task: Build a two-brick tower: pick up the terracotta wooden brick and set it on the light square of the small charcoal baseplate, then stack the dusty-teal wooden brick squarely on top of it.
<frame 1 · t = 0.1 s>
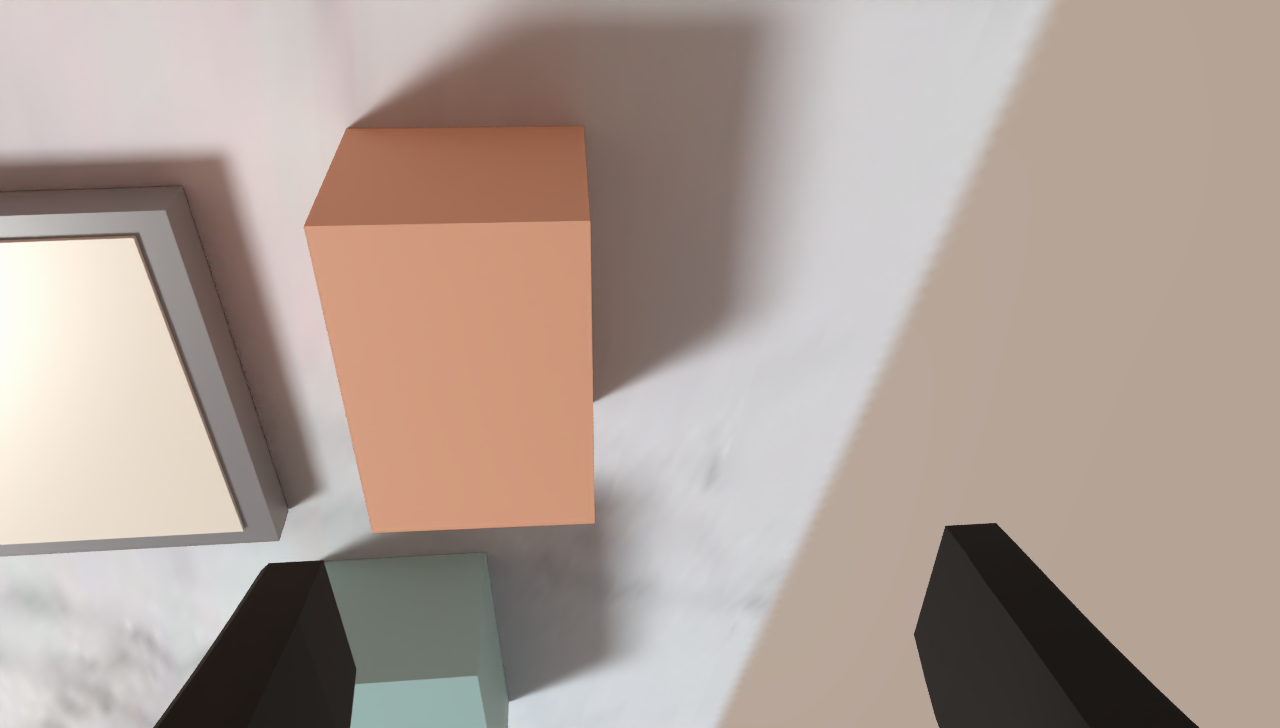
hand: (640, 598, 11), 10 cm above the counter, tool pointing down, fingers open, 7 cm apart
teal brick: (420, 632, 27), on the counter
terracotta brick: (481, 278, 20), on the counter
baseplate: (80, 377, 21), on the counter
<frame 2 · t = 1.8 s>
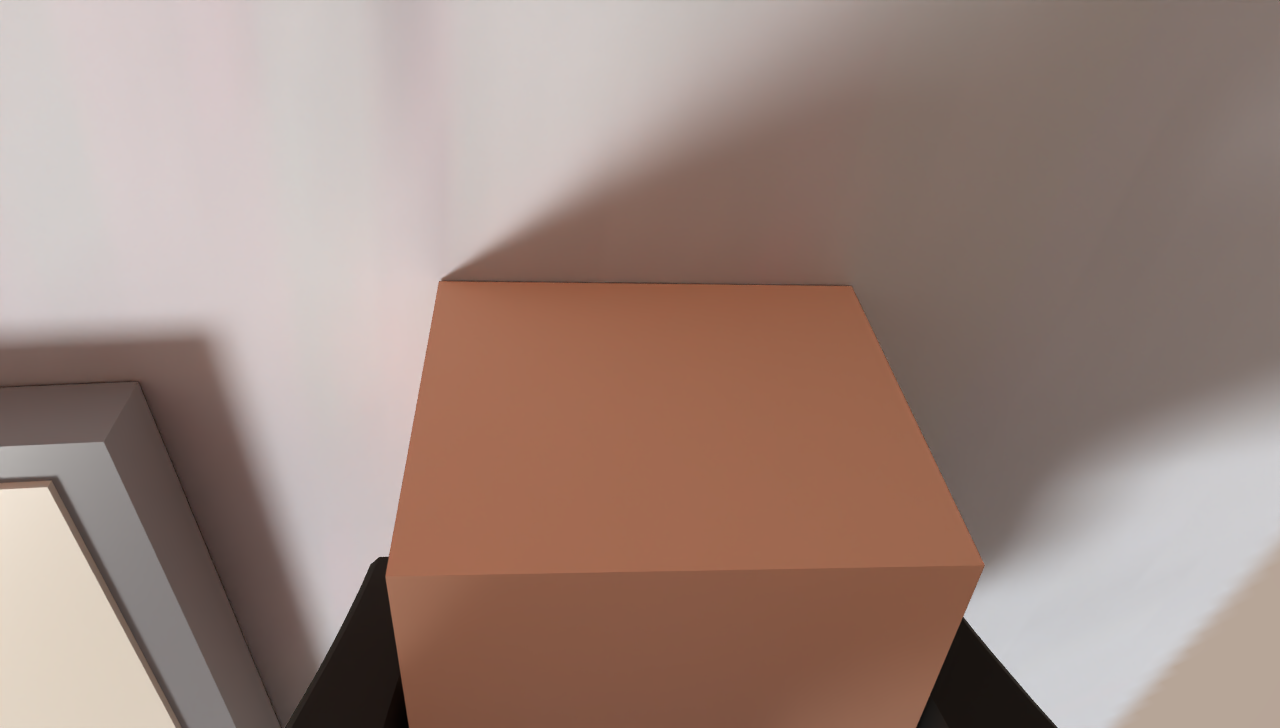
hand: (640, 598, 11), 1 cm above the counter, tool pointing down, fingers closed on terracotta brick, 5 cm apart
terracotta brick: (631, 510, 12), on the counter, touching gripper
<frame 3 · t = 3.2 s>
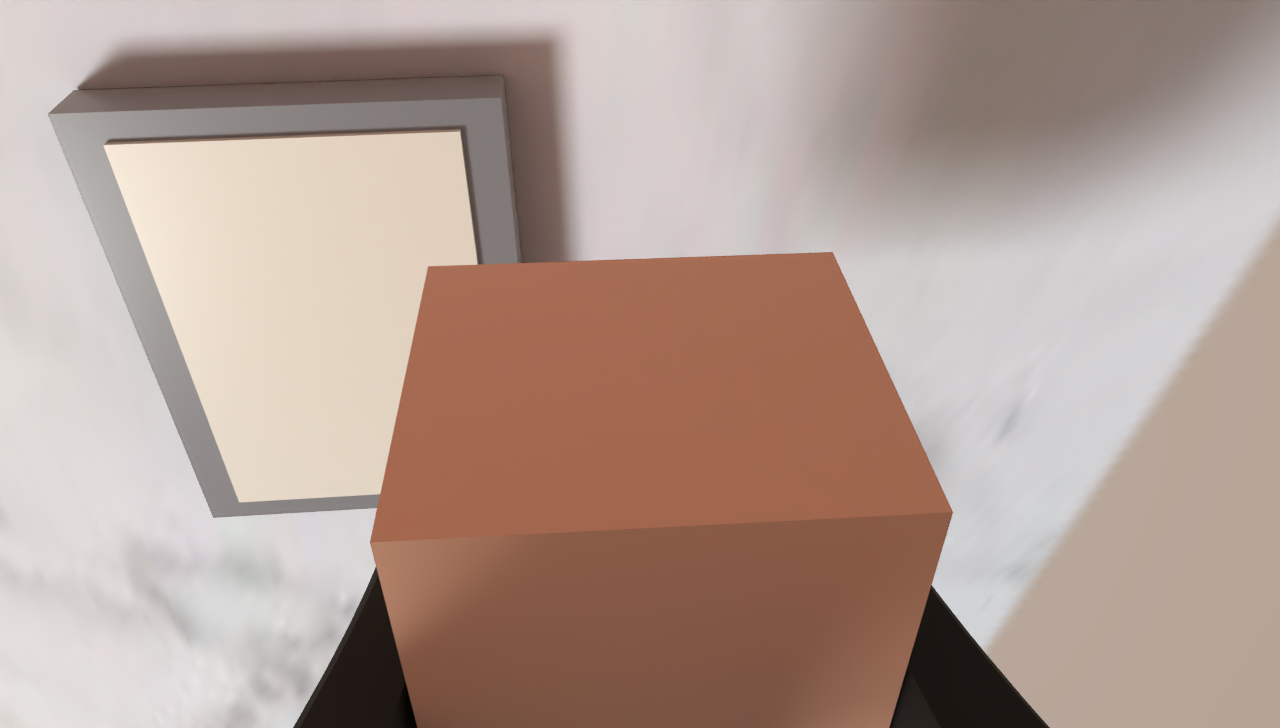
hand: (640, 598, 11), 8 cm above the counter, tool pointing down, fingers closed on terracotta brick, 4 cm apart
terracotta brick: (633, 485, 12), point 7 cm above the counter, touching gripper
baseplate: (345, 308, 18), on the counter
when the fingers open (3 cm above the counter, at t = 4.9 s): terracotta brick stays where it is, resting on baseplate.
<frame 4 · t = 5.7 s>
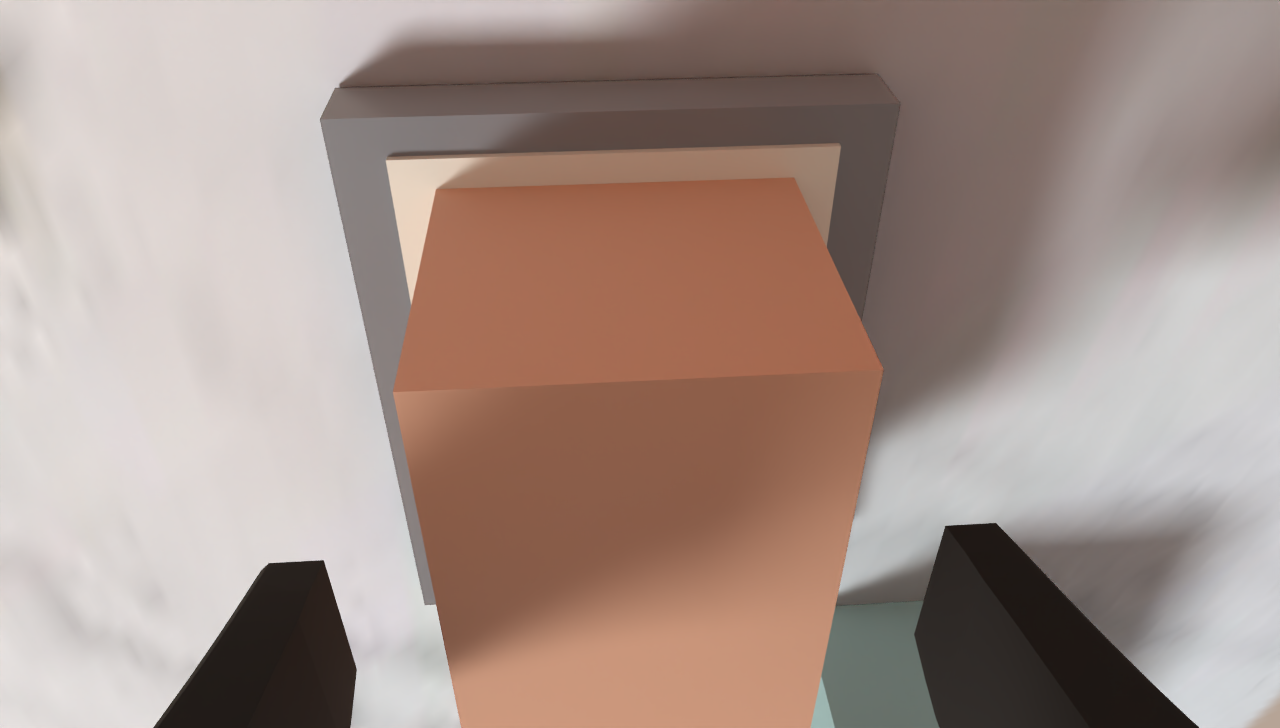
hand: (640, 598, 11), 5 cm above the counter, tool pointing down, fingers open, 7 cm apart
teal brick: (881, 692, 21), on the counter
terracotta brick: (620, 398, 14), point 1 cm above the counter, touching baseplate
baseplate: (616, 359, 15), on the counter
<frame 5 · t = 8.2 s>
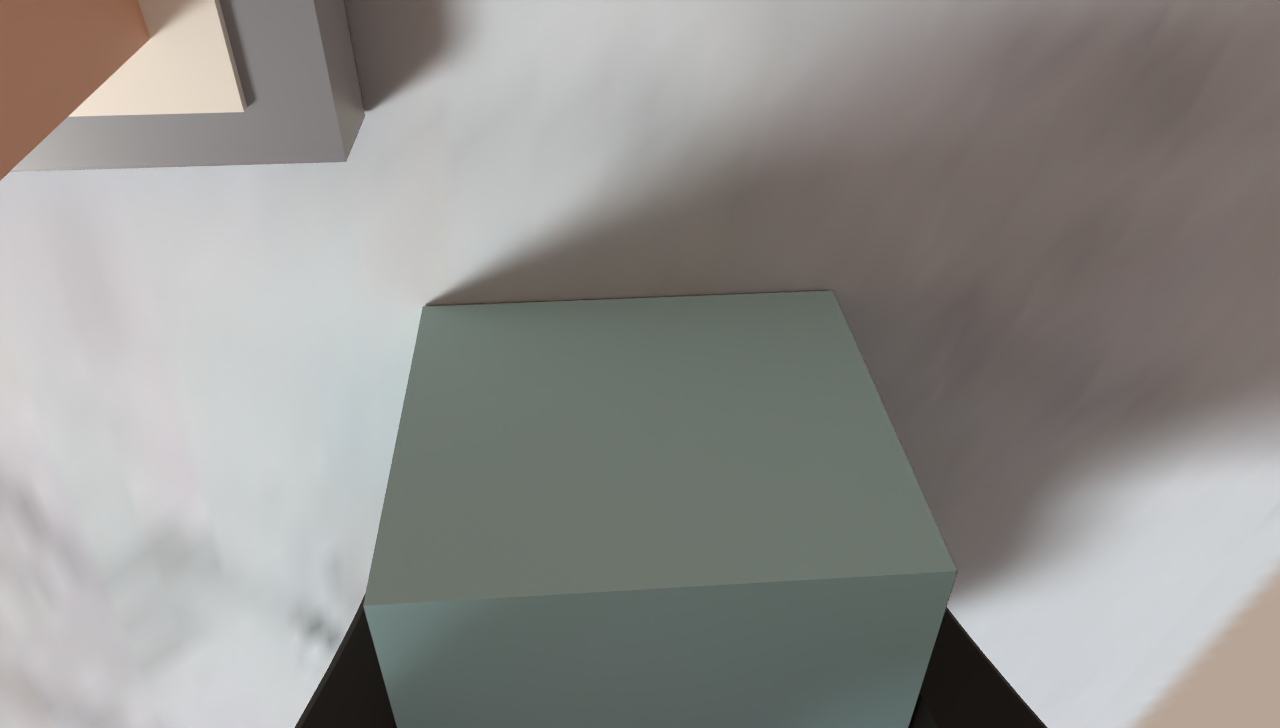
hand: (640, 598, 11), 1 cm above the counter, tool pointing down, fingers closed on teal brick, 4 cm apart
teal brick: (631, 520, 12), on the counter, touching gripper
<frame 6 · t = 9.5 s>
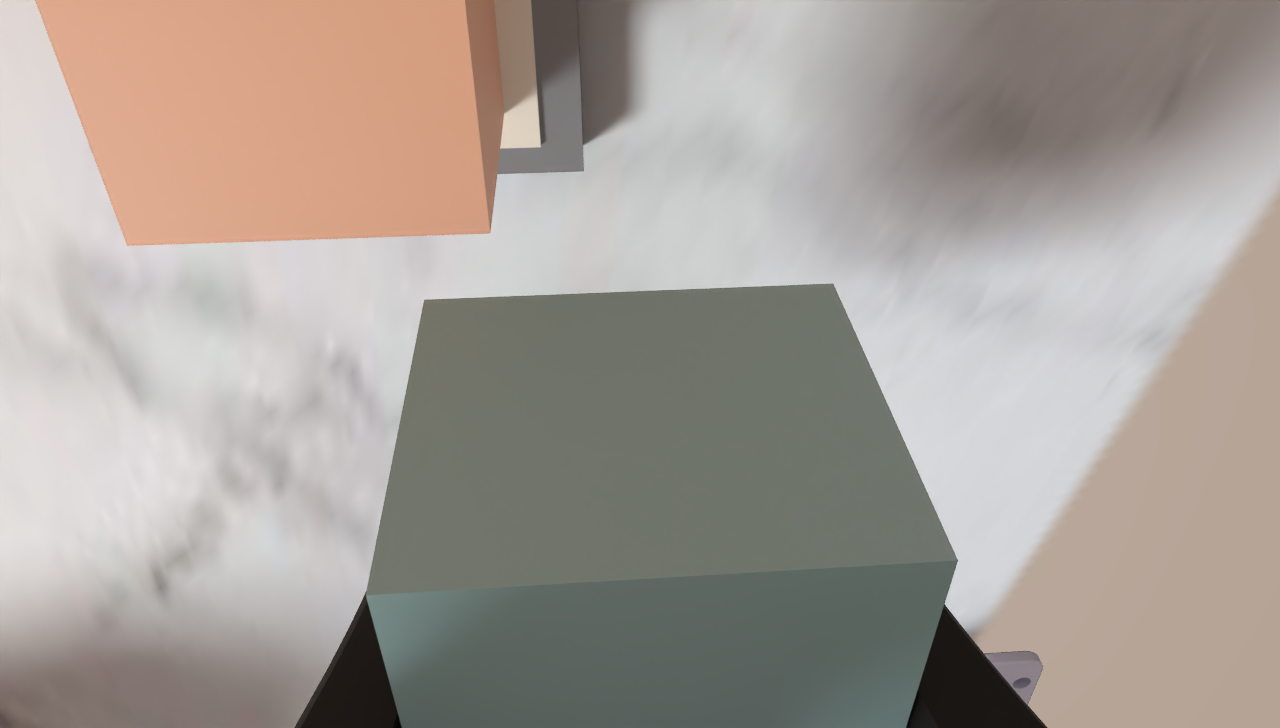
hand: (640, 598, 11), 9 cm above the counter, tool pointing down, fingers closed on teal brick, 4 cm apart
teal brick: (632, 514, 12), point 7 cm above the counter, touching gripper
when the fingers open (7 cm above the counter, at t = 10.8 s): teal brick stays where it is, resting on terracotta brick.
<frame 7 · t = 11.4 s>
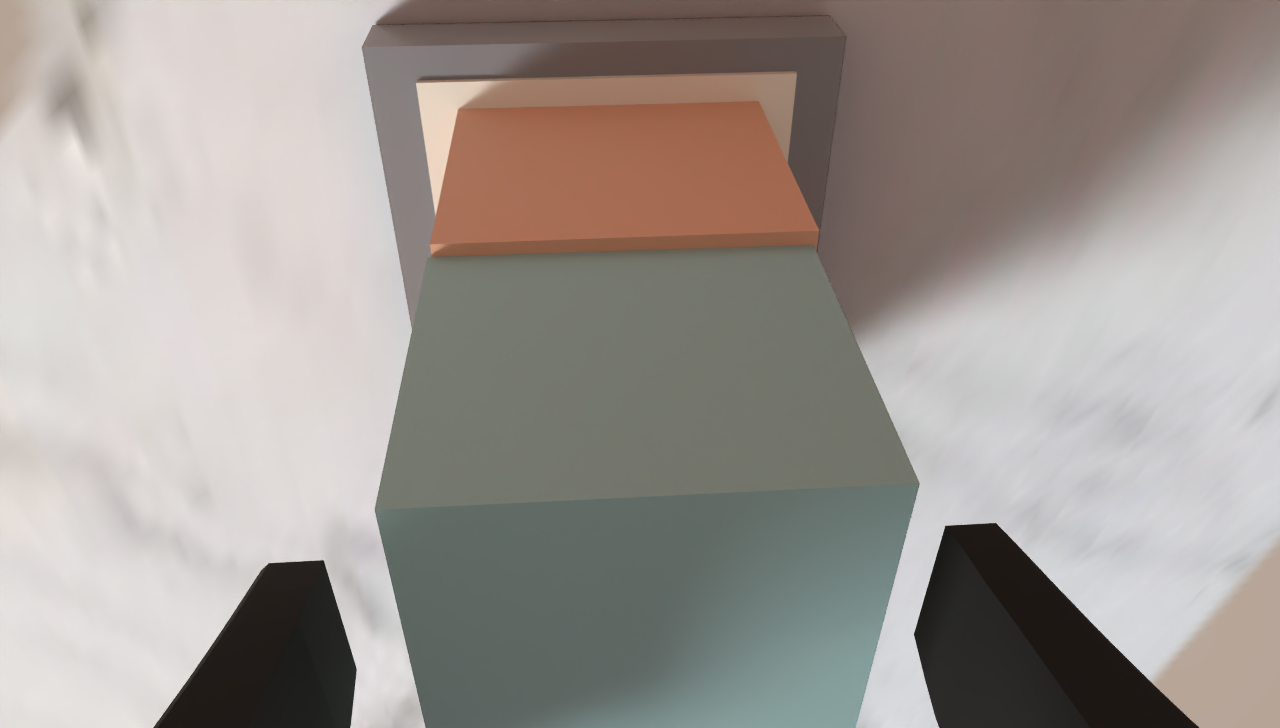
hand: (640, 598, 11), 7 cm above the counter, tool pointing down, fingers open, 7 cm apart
teal brick: (623, 469, 13), point 5 cm above the counter, touching terracotta brick
terracotta brick: (613, 301, 16), point 1 cm above the counter, touching baseplate, teal brick
baseplate: (609, 272, 17), on the counter
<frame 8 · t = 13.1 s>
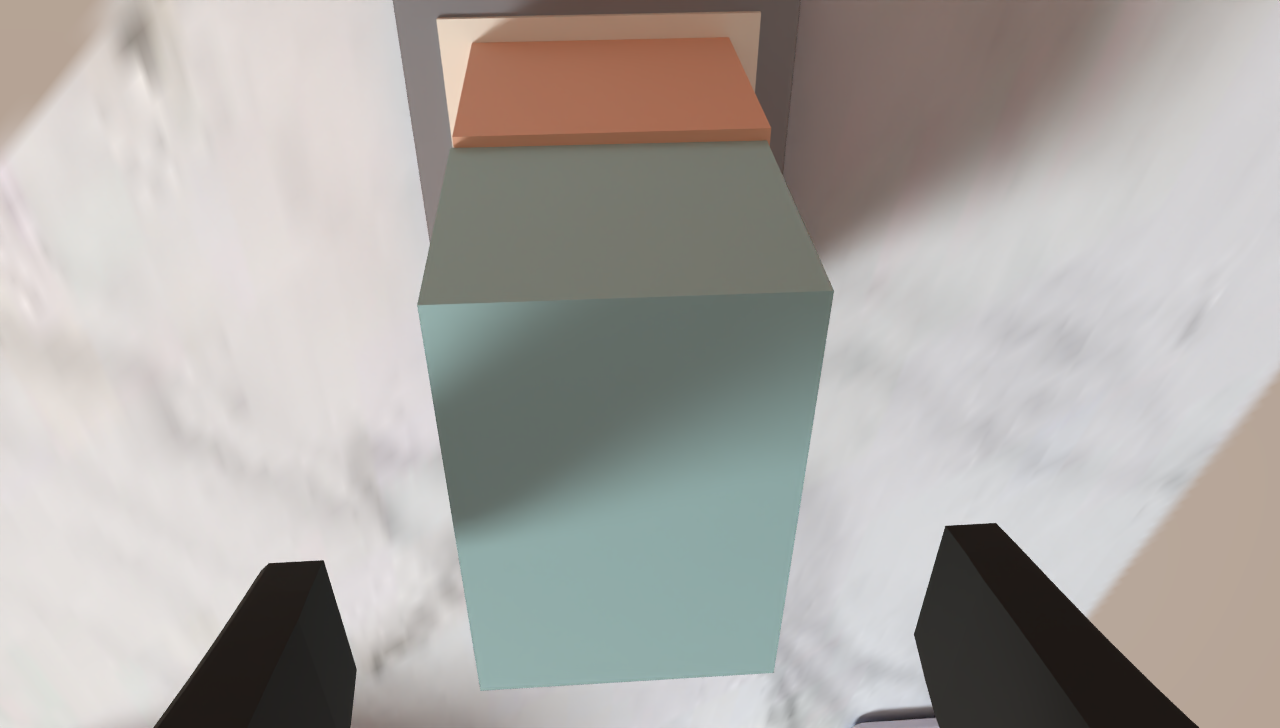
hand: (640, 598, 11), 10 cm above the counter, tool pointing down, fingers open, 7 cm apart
teal brick: (612, 343, 15), point 5 cm above the counter, touching terracotta brick
terracotta brick: (605, 218, 18), point 1 cm above the counter, touching baseplate, teal brick
baseplate: (602, 196, 19), on the counter
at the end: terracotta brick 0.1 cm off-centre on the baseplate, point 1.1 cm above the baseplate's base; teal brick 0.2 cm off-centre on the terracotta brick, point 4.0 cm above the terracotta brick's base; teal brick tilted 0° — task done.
